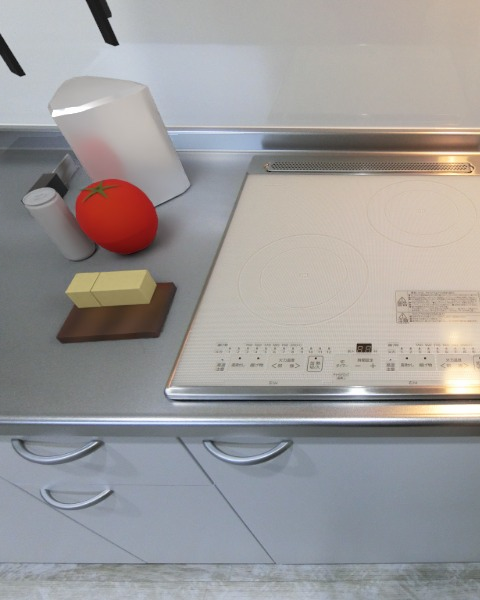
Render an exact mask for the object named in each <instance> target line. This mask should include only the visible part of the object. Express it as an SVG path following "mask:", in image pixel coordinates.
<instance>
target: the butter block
mask: <svg viewBox="0 0 480 600" xmlns="http://www.w3.org/2000/svg"><path fill="white" fill-rule="evenodd" d="M156 283H157V282H156V281H155V280H154V278H153V276H152V275H151V273H150V272H149V269H134V270H132V269H131V270H114V271H100V275H99V276H98V278H97V280H96V282H95V284H94V286H93V288H92V290H91V292H92V294H93V295H94V296H95V297H96V299H97V300H98V301H99V302H100V304H101V305H102V306H118V305H135V304H149V303H150V301H151V298H152V296H153V293H154V291H155V288H156V286H157V284H156Z"/></svg>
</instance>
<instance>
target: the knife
mask: <svg viewBox="0 0 480 600" xmlns="http://www.w3.org/2000/svg"><path fill="white" fill-rule="evenodd" d="M77 169H78V166H77V165H76V163H75V161H74V159H73V158H72V156H71V154H70V153H66V155H64V157H63V158H62V159H61V161H59V163H58V164H57V166H56V167H55V168H54V169H53V170H52V171H51V172H49V173H42V174H41V175H40V177H39V178H38V179H37V180H36V182H34V184H33V185H32V186H31V188H29V189H28V191H27V192H26V194H25V195H27V194H28V193H30V192H31V191H34V190H36V189H40V188H53V189H54V190H55V191H56V192H57V193H58V194H59V195H60V196H61V198H62V199H63V197H65V195H66V194H67V192H68V191H69V189H68V188H67V186H66V184H67V182H68V181H69V180H71V178H72V177H73V175H74V173H75V172H76V171H77ZM23 198H24V196H23V197H22V198H21V199H20V202H21V204H22V205H23V206H24V207H25V205H24V203H23V201H22V200H23Z"/></svg>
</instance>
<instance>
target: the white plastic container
mask: <svg viewBox="0 0 480 600" xmlns="http://www.w3.org/2000/svg"><path fill="white" fill-rule="evenodd" d="M47 109H48V111H49V114H50V116H51V118H52V120H53V121H54V123H55V124H56V126H57V127H58V130H59V131H60V133H61V134H62V136H63V137H64V139H65V141H66V142H67V144H68V145H69V147H70V149H71V150H72V151H73V153H74V154H75V157H76V158H77V159H78V161H79V163H80V164H81V166H82V168H83V169H84V172H85V173H86V174H87V175H88V177H89V179H90V181H91V182H92V184H93V183H96V182H99V181H102V180H106V179H119V180H123V181H127V182H129V183H131V184H133V185H135V186H137V187H138V188H139V189H140V190H142V191H143V192H144V193H145V194H146V195H147V197H148V198H149V199H150V200H151V202H152V204H153V205H154V207H156V206H158V205H161V204H163V203H165V202H167V201H169V200H172V199H174V198H175V197H177V196H180V195H181V194H184V193H185V192H186V191H187V190H188V189H189V187H191V183H190V181H189V178H188V176H187V174H186V171H185V169H184V167H183V164H182V162H181V160H180V157H179V155H178V153H177V150H176V148H175V146H174V143H173V141H172V139H171V136H170V133H169V131H168V130H167V128H166V125H165V122H164V120H163V117H162V116H161V114H160V111H159V108H158V107H157V104H156V102H155V99H154V97H153V94H152V92H151V90H150V87H149V85H147V84H143V83H140V82H137V81H133V80H129V79H121V78H112V77H103V76H94V75H80V76H73V77H71V78H68V79H65V80H64V81H63V82H62V83H61V84H60V85H59V87H58V88H57V89H56V91H55V92H54V94H53V95H52V96H51V98H50V100H49V101H48V104H47Z"/></svg>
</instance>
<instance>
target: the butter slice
mask: <svg viewBox="0 0 480 600" xmlns="http://www.w3.org/2000/svg"><path fill="white" fill-rule="evenodd" d="M100 273H101V271H95V272H77V273H75V275H74V277H73V279H72V280H71V282H70V283H69V285H68V287H67V289H66V290H65V294H66V296H67V297H68V298H69V299H70V300H71V301H72V302H73V303H74V304H75V305H76V306H77V307H78V308H86V307H102V305H101V304H100V302H99V301H98V300H97V299H96V297H95V296H94V295H93V294H92V292H91V290H92V288H93V286H94V284H95V282H96V280H97V278H98V276H99V275H100Z"/></svg>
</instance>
